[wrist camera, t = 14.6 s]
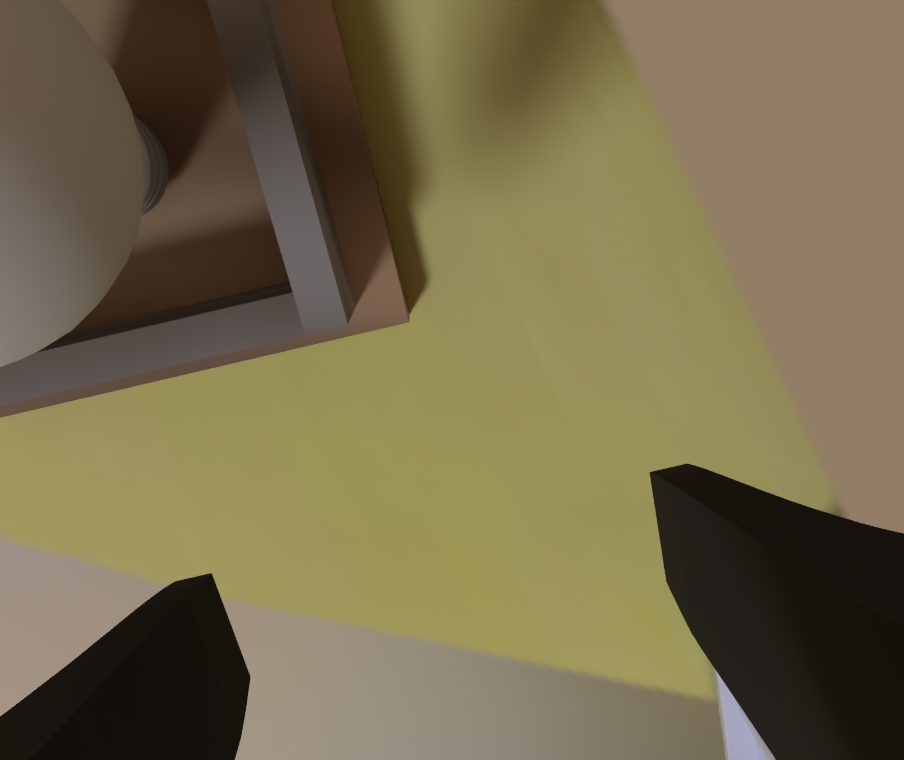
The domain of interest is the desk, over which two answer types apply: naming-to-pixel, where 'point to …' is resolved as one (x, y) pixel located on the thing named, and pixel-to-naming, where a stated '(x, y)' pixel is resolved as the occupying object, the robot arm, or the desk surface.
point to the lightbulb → (64, 175)
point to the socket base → (230, 200)
